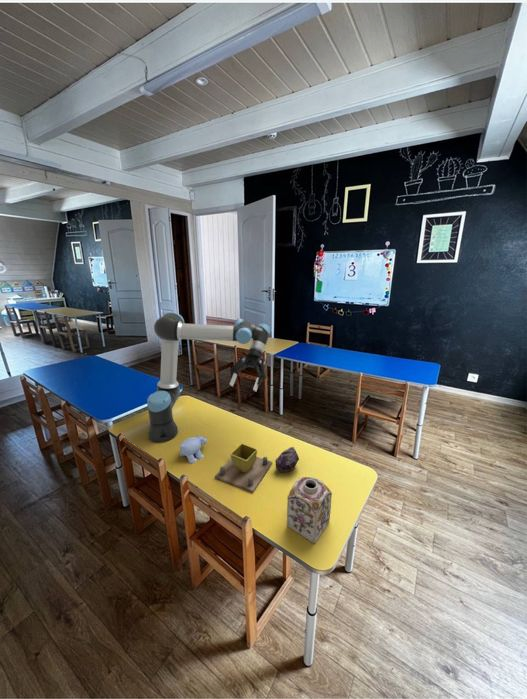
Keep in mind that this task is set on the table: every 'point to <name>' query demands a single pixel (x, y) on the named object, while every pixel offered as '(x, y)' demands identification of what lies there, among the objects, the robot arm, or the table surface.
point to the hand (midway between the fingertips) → (242, 388)
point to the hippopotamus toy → (192, 448)
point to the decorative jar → (309, 507)
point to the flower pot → (243, 457)
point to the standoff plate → (244, 474)
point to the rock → (287, 460)
